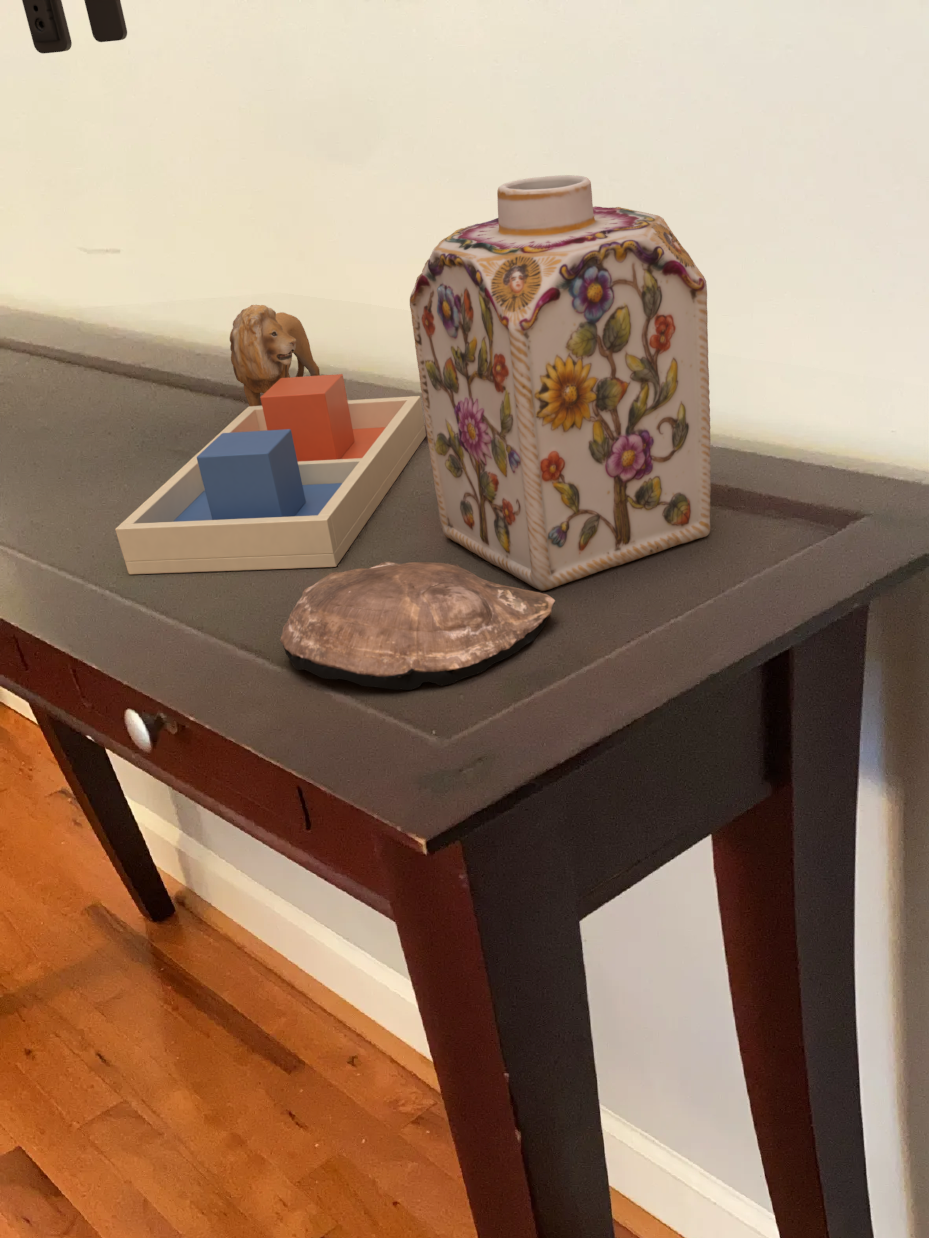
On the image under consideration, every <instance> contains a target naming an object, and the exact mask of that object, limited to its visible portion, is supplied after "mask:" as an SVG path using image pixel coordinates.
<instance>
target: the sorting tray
mask: <svg viewBox="0 0 929 1238" xmlns="http://www.w3.org/2000/svg"><path fill="white" fill-rule="evenodd" d="M347 401H348V406H349V412H350V418H351V423H352V429H353V434H354V440H355V441H354V442H353V444H352V445H351V446H350V447H349V449H348V450H347V451H346V452H345V454H344V455H343V456H342V457H341V458H340V459H337V460H318V461H299V462H298V466H299V471H300V476H301V481H302V486H303V490H304V495H305V500H306V502H305V503H304V505H303V506H302V507H301V508H300V510H299V511H298V512H297V513H296V515H295V516H293V517H270V518H248V519H225V520H212V516H211V512H210V508H209V504H208V501H207V497H206V493H205V489H204V485H203V481H202V477H201V473H200V469H199V465H198V461H197V456H198V455H199V454H200V453H201V452H202V451H204V450H205V449H206V448H207V447H208V446H209V445H210V444H211V443H212V442H213V441H214V440H215V439H217V438H218V437H219V436H220V435H221V434H222V433H233V432H250V431H267V426H266V422H265V417H264V412H263V408H262V406H249V405H248V406H247V407H246V408H245V409H244V410H243V411H241V413H240V414H239V415H237V416H236V417H235V418H234V419H233V420H232V421H231V422H230V423H228V424H227V426H226V427H224V428H223V429H222V430H221V431H220V432H219V433H218V434H217V435H216V436H214V438H212V439H211V440H210V441H209V442H208V443H207V444H206V445H205V446H204V447H203V448H201V450H199V452H197V453H196V454H195V455H194V456H193V457H192V458H191V459H190V460H188V461H187V463H185V464H184V465H183V466H182V467H181V468H180V469H178V471H176V473H174V474H173V475H172V476H171V477H170V478H169V479H168V480H167V481H165V483H164V484H163V485H161V486H160V487H159V488H158V489H157V490H156V491H155V492H153V493H152V495H150V497H148V498H147V499H146V500H145V501H144V502H143V503H142V504H141V505H139V506H138V507H137V508H136V509H135V510H134V511H133V512H132V513H131V514H129V515H128V516H127V518H126V519H124V520H123V521H122V522H121V523H119V525H118V526H117V527H115V533H116V536H117V540H118V543H119V547H120V551H121V553H122V557H123V559H124V562H125V566H126V570H127V573H128V575H151V574H178V573H179V574H181V573H207V572H230V571H231V572H233V571H235V572H236V571H257V570H258V571H260V570H261V571H262V570H264V571H265V570H289V569H315V568H317V569H318V568H336V567H338V565H339V563H340V562H341V560H342V559H343V558H344V556H345V555H346V553H347V552H348V551H349V549H350V547H351V546H352V544H353V543H354V542H355V540H356V539H357V537H358V536H359V534H360V533H361V531H362V530H363V529H364V527H365V525H366V524H367V522H368V521H369V520H370V518H372V516H373V514H374V513H375V512H376V509H377V508H378V507H379V505H380V504H381V502H382V501H383V499H384V498H385V497H386V495H387V493H388V492H389V491H390V489H391V488H392V486H393V485H394V483H395V482H396V480H397V479H398V477H399V476H400V475H401V473H402V471H403V470H404V469H405V467H406V466H407V465H408V463H409V461H410V460H411V459H412V457H413V456H414V454H416V453H415V452H416V451H417V450H418V449H419V447H420V446H421V444H422V443H423V441H424V440H425V438H427V431H426V424H425V417H424V410H423V403H422V396H420V395H412V396H395V397H381V398H364V399H347Z"/></svg>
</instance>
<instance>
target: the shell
mask: <svg viewBox="0 0 929 1238" xmlns="http://www.w3.org/2000/svg"><path fill="white" fill-rule="evenodd" d="M301 594H302V595H301V597H300V598H299V599H298V600H297V602H296V603H295V605H294V607H293V609H292V610H291V612H290V614H289V617H288V619H287V621H286V623H285V624H284V626H283V627H282V633H281V635H280V638H279V641H280V642H281V644H282V646H283V651H284V652H285V655H286V656H287V658H288V660H289V662H290V663H291V665H292V666H293V668H294V669H295V670H297V671H299V670H301V671H302V670H305V671H307V672H309V673H311V674H313V675H315V676H318V677H319V678H320V679H328V680H338V679H340V680H345V681H348V682H351V683H354V684H356V685H359V686H361V687H367V688H369V687H371V688H378V689H387V690H395V691H396V690H398V691H399V690H402V691H403V690H404V691H406V690H407V691H411V690H415V689H417V688H419V687H421V686H422V685H423V683H429V682H430V683H432V684H437V685H438V686H447V685H452V684H451V683H453V684H454V683H456V682H457V681H462V680H463V679H465V678H467V677H472V676H477V675H478V674H481V673H482V672H486V670H487V669H488V668H490V667H491V666H493V665H494V664H496V663H498V662H502V661H503V660H506V659H507V658H509V657H511V656H512V655H514V654H515V653H518V652H520V650H521V649H522V648H524V647H525V646H526V645H528V644H530V643H532V642H534V641H535V640H536V638H537V636H538V635H539V634H540V633H541V631H542V630H543V629H544V627H545V625H546V623H547V621H548V619H549V617H550V616H551V615H552V612H553V611H552V610H553V608H554V605H555V603H556V600H555V599H554V598H553V596H552V597H551V596H550V595H549V594H547V593H544V592H543V593H542V592H541V591H540V592H539V591H534V590H528V589H524V588H519V587H515V586H508V585H504V584H499V583H495V582H493V581H490V580H486V579H484V578H481V577H479V576H477V575H476V574H474V573H473V572H472V571H469V570H468V569H465V568H463V567H461V566H459V564H457V563H444V562H429V561H416V562H415V561H411V562H404V563H397V562H395V561H382V562H380V563H379V564H378V563H377V564H375V565H373V566H371V567H367V568H365V567H359V568H355V569H349V570H345V571H341V572H339V571H332V572H330V573H328V574H327V575H326V576H324V577H322V578H320V579H319V580H318V581H316V582H315V583H314V584H312V585H311V586H308V587H306V588H304V589H303V591H302V593H301Z"/></svg>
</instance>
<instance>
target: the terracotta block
mask: <svg viewBox="0 0 929 1238" xmlns="http://www.w3.org/2000/svg"><path fill="white" fill-rule="evenodd" d="M345 384H346V383H345V379H344V375H343V373H338V374H336V373H335V374H322V375H321V374H320V376H311V375H307V376H306V375H305V376H303V377H296V376H292V377H291V376H290V378H281V379H279V380H278V381H277V382H276V383H275V384H274V385H273V386H272V387H271V388H270V389H269V390H268V391H266V392H265V393H262V395H260V401H261V405H262V408H263V412H264V417H265V422H266V426H267V430H284V429H291V432H292V437H293V442H294V447H295V452H296V457H297V461H298V462H299V461H318V460H337V459H340V458H341V457H342V456H343V455H344V454H345V452H346V451H347V450H348V449H349V447H350V446H351V445H352V444H353V442H354V441H355V440H354V434H353V429H352V423H351V418H350V412H349V406H348V401H347V400H348V395H347V390H346V385H345Z"/></svg>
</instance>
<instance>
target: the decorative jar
mask: <svg viewBox="0 0 929 1238" xmlns="http://www.w3.org/2000/svg"><path fill="white" fill-rule="evenodd" d="M707 285H708V284H707V280H706V277H705V276H704V274H703V273H702V272H701V271H700V269H699V267H698V266H697V265H696V263H695V262H694V260H693V259H692V257H691V255H690V254H689V252H688V251H687V250H686V249H685V248H684V247H683V245H682V244H681V243H680V241H679V240H678V238H677V236H676V235H675V234H674V232H673V231H672V229H671V228H670V226H669V225H668V223H667V221H666V220H665V219H664V217H662V216H660V215H658V214H653V213H649V212H644V211H640V210H639V211H638V210H633V209H629V208H625V207H621V206H616V207H613V206H612V207H604V206H603V207H602V206H596V205H595V206H594V205H593V191H592V181H591V180H590V178H588V177H586V176H583V175H575V174H572V175H570V174H560V175H548V176H537V177H536V176H535V177H534V176H533V177H528V178H527V177H526V178H520V179H516V180H512V181H508V182H505V183H503V184H501V185H500V186H498V187H497V218H493V219H491V220H488V221H484V222H481V223H475V224H473V225H467V226H465V227H461V228H458V229H457V230H455V231H453V233H451V234H450V235H448V236H446V237H444V238H443V239H441V240H440V241H439V242H438V244H437V245H436V246H435V247H434V248H433V250H432V252H431V254H430V256H429V258H428V259H427V260H426V261H425V263H424V266H423V268H422V271H421V273H420V274H419V275H418V276H417V277H416V281H415V284H414V287H413V289H412V291H411V293H410V296H409V309H410V314H411V324H412V330H413V332H412V333H413V339H414V348H415V354H416V361H417V369H418V376H419V385H420V392H421V399H422V407H423V417H424V424H425V431H426V439H427V445H428V451H429V458H430V465H431V469H432V478H433V483H434V490H435V492H434V493H435V495H436V501H437V509H438V514H439V521H440V525H441V529H442V533H443V535H444V536H445V537H446V538H447V539H450V540H451V541H453V542H454V543H456V544H458V545H460V546H461V547H462V548H465V550H468V551H469V552H471V553H473V554H475V555H477V556H478V557H479V558H481V559H483V560H485V561H486V562H488V563H490V564H491V565H494V566H495V567H497V568H499V569H500V570H503V571H505V572H507V573H508V574H510V575H512V576H514V577H515V578H517V579H519V580H521V582H524V583H526V584H527V585H529V586H531V587H533V588H534V589H536V590H538V591H540V592H541V591H542V592H545V591H549V590H552V589H554V588H557V587H560V586H563V585H566V584H568V583H571V582H574V581H578V580H580V579H583V578H586V577H588V576H591V575H594V574H596V573H598V572H602V571H606V570H609V569H611V568H615V567H618V566H621V565H622V566H623V565H624V564H629V563H630V562H634V561H636V560H639V559H642V558H645V557H647V556H650V555H653V554H657V553H659V552H662V551H665V550H668V549H671V548H672V547H676V546H679V545H683V544H687V543H690V542H693V541H695V540H698V539H702V538H706V537H707V536H709V534H710V532H711V493H712V492H711V491H712V488H711V487H712V485H711V480H712V479H711V474H712V473H711V471H712V470H711V465H712V463H711V457H712V456H711V428H712V427H711V407H710V406H711V405H710V404H711V401H710V400H711V399H710V394H711V393H710V369H709V333H708V332H709V331H708V322H709V321H708V286H707Z"/></svg>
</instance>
